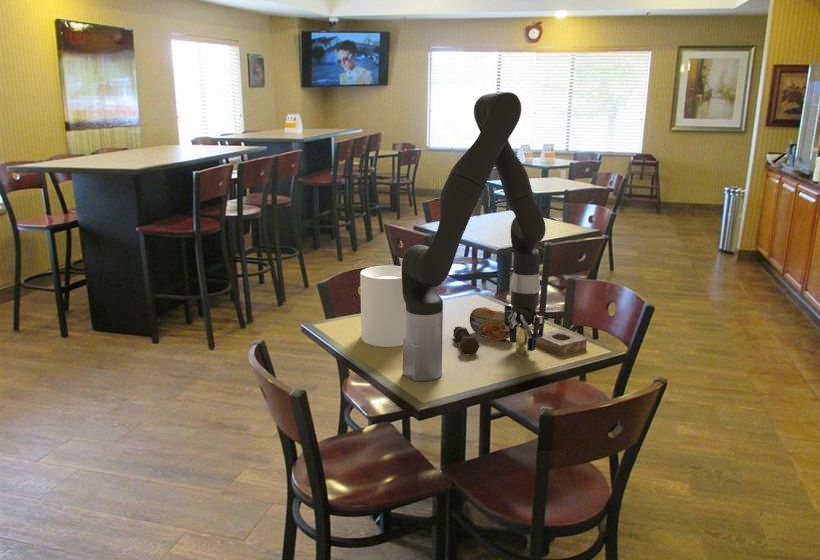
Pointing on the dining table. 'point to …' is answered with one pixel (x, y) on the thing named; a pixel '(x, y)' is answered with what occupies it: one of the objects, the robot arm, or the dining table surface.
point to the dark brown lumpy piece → (466, 341)
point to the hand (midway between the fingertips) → (522, 346)
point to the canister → (382, 306)
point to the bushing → (521, 341)
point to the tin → (489, 323)
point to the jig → (561, 342)
